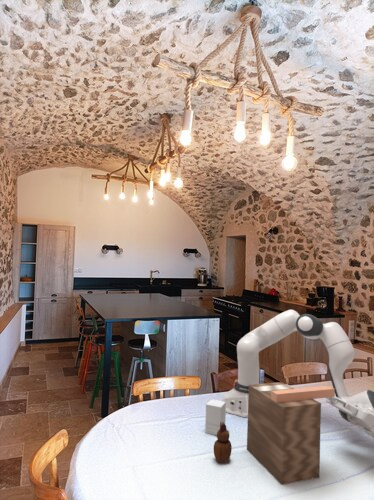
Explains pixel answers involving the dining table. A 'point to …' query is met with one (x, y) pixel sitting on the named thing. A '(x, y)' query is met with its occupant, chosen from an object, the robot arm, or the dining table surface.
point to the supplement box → (214, 416)
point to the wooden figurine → (222, 444)
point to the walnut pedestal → (284, 434)
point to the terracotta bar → (302, 394)
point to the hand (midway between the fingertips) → (335, 400)
